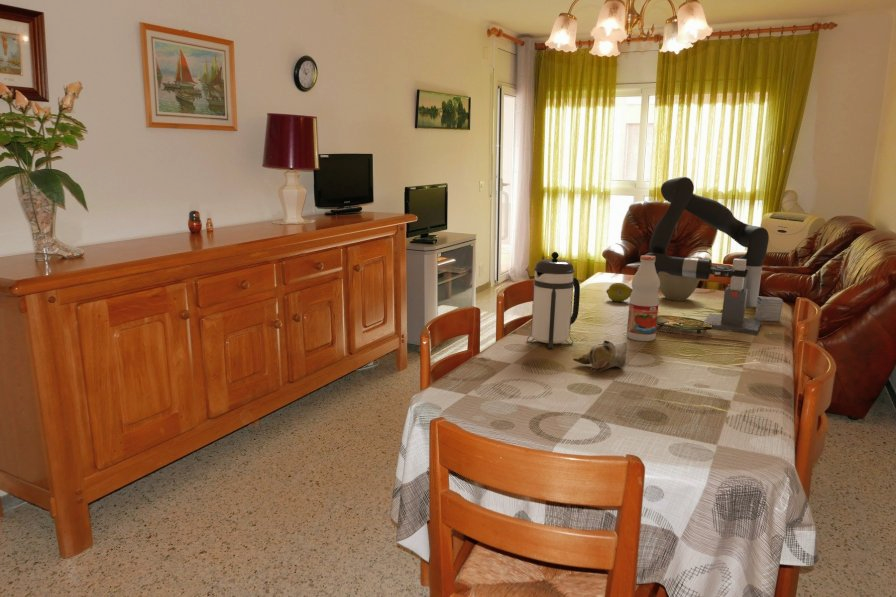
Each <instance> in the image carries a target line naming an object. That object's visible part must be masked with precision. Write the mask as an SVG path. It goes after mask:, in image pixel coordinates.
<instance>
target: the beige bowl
mask: <svg viewBox="0 0 896 597" xmlns="http://www.w3.org/2000/svg"><path fill="white" fill-rule="evenodd" d="M657 275H658V277H659V279H660V287H659V290H660V291H661V293H662V294H663V296H664V298H666V299H667V300H670V301H676V302H683V301H687V299H688V298H690V296H692V294H694V291H695V290H697V287H698V285H699V283H700V280H701V279H696V278H688V277H684V276H675V275H670V274H668V273H667V272H663V271H660V272H659V273H658V274H657Z"/></svg>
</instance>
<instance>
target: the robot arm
mask: <svg viewBox="0 0 896 597" xmlns="http://www.w3.org/2000/svg"><path fill="white" fill-rule="evenodd" d="M694 186H695V185H694V182H693V180H692V179H691V178H689V177H686V176H679V177H675V178H671V179H668V180H666V181H665V182H663V183H662V185H661V187H660V194H661V195H662V198H663V199H664V200H666V202H668V203H670V205H669V207H668V208H667V210H666V211H665V212H664V214H663V216H662V217H661V218H660V220H658V222H657V224H656V225H655V227H654V230H653V232H652V234H651V237H650V240H649V244H648V246H649V249H648V250H649V251H648V253H645V254H644V255H650V256H655V257H656V260H655V263H654V264H655V269H656V273H657V274H658V273H659V272H660V271H663V272H667V273H668V274H670V275H675V276H684V277H688V278H696V279H700V280H706V281H708V280H710V278H711V275H713V276H714V277H715V278H717V277H719V278H730V279H731V277H734V276H735V277H744V284H743V289H748V291H747V299H746V307H745V308H756V305H757V298H758V297H759V294H760V285H761V277H762V270H763V264H764V261H765V259H766V257H767V256H766V255H767V251H768V246H769V239H770V237H769V232H768V229H766V228H765V227H762V226H756V225H752V224H751V225H750V224H747V223H745V222H743V221H741V220H739V219H738V218H736V217H735V216H734V214H733V212H732V211H731V210H730V209H729V207H726V205H724V204H722V203H720V202H719V201H717V200H714V199H712V198H709V197H705V196H701V195H698V194H695V193H694V191H695V187H694ZM684 210H685V211H687V212H689V213H690V214H691V215H693V216H695V217H696V218H698V219H700V220H701V221H702V222H704V223H706V224H708V225H709V226H711V227H713V229H715V230H718V231H720V232H721V233H724V234H726V235H727V236H728V237H730V238H731V239H732V240H734V241H735V242H736V243H737V244H738V245H739V246H742V247H743V248H746V252H745V254H744V255H742V256H741V255H740V257H738V259H747V260H746V268H745V271H739V270H734V269H733V270H732V267H733V265H725V264H724V265H723V264H716V265H713V261H712V259H708V258H698V257H697V258H696V257H679V256H670V255H667V249H668V247H669V245H670V243H671V240H672V236H673V234H674V231H675V229H676V227H677V224H678V222H679V220H680V219H681V216H682V215H683V213H684V212H685V211H684Z"/></svg>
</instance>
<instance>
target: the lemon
mask: <svg viewBox="0 0 896 597" xmlns="http://www.w3.org/2000/svg"><path fill="white" fill-rule="evenodd" d="M605 291H606V292H605V293H607V294H606V295H607V297H608V298H609V300H611V301H612V302H618V303H620V302H623V301H626V300H628V299H630V295H631V293H632V287H630V286H629V285H627V284H626V283H621V282H615V283H614V282H613V283H612V284H610V285H609V288H607V289H606V290H605Z"/></svg>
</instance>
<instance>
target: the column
mask: <svg viewBox="0 0 896 597" xmlns="http://www.w3.org/2000/svg"><path fill="white" fill-rule="evenodd" d="M746 260H747V259H739V258H733V260H732V266H733V267H732V270H733V269H734V270H739V271H745V268H746ZM743 284H744V277H735V276H734V277H731V278H730V286H729V287H730V290H733V291H742V292H743Z"/></svg>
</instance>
